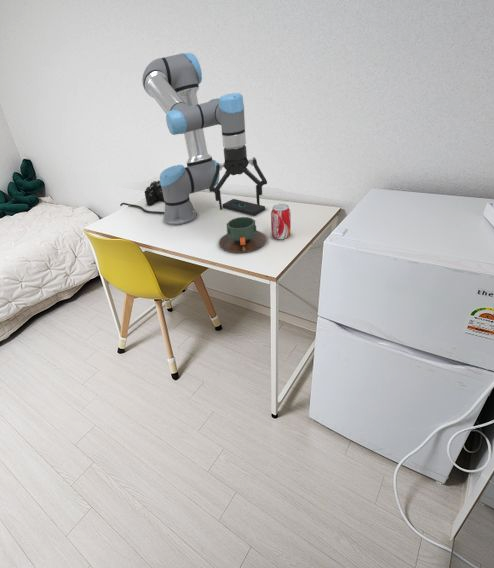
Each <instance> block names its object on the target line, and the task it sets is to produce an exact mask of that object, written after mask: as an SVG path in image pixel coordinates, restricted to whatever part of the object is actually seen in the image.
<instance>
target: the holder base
mask: <svg viewBox="0 0 494 568" xmlns="http://www.w3.org/2000/svg"><path fill="white" fill-rule="evenodd" d="M218 242H219V243H218V244H219V248H220V249H221V250H223V251H224V252H227V253H230V254H247V253H248V254H249V253H253V252H255V251H258V250H260V249H261V248H262V247H264V246H265V245H266V243H267V237H266V235H265V234H264V233H263V232H261V231H258V230H256V232H255V235H254V236H253V237H252V238H250V239H247V240H245V245H240V241H238V240H233V239H230V238H229V235H227V233H226V234H224V235H222V237H221V238H220V239H219V241H218Z"/></svg>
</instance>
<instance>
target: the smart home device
mask: <svg viewBox="0 0 494 568" xmlns="http://www.w3.org/2000/svg"><path fill="white" fill-rule="evenodd" d="M221 204H222V209H226V210H228V211H233V212H237V213H241V214H243V215H244V214H245V215H249V216H251V217H252V216H253V217H255V216H257V215H259V214H260V213H262V212H264V211H266V206H265V205H262V204H260V205H257V203H252V202H249V201H244V200H240V199H235V198H232V199H230V200H228V201H226V202H224V203H221Z"/></svg>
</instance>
